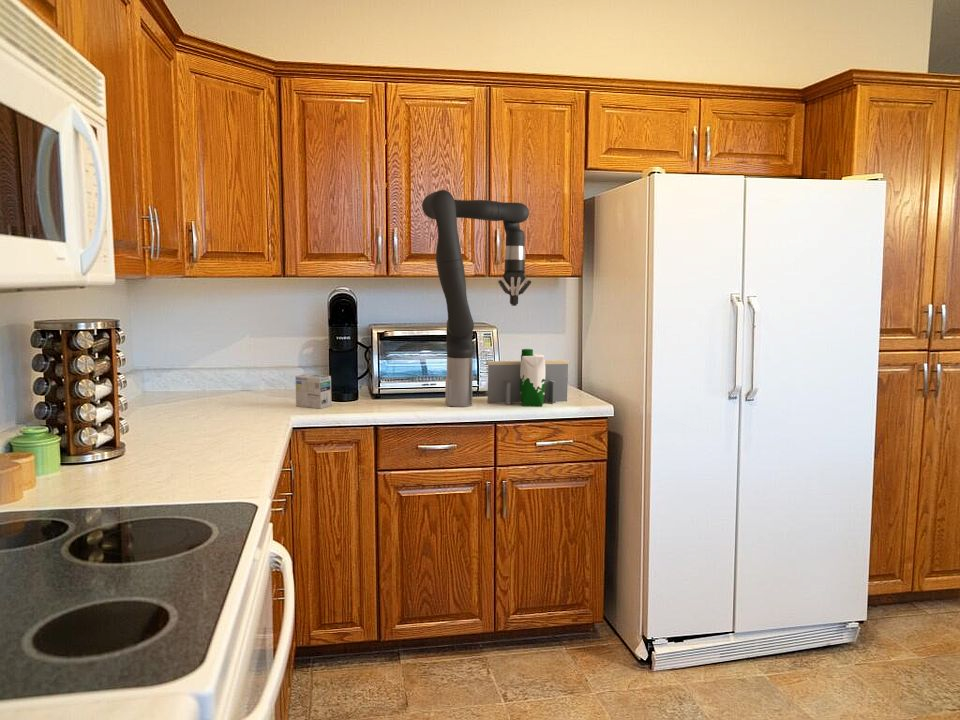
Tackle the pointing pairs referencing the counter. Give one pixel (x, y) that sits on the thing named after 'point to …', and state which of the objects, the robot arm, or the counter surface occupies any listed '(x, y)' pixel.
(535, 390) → the soya milk
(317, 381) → the light bulb box
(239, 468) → the counter surface
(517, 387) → the grey backboard
